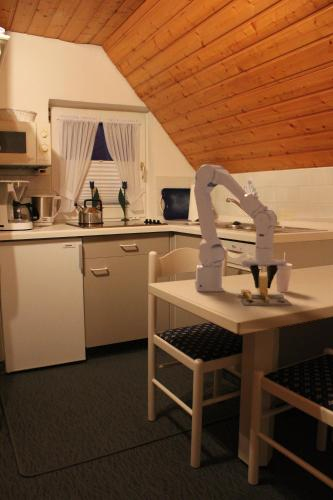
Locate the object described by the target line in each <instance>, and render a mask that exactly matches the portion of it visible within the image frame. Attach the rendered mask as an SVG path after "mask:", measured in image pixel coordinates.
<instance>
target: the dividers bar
mask: <svg viewBox="0 0 333 500" xmlns="http://www.w3.org/2000/svg"><path fill="white" fill-rule="evenodd" d="M268 296H269V299H285V295H284V294H283V293H268ZM237 298H238V299H249V301H252V299H266V298H265V297H264V296H263V295H259V294H258V293H257V292H256V293H254V292H253V293H252V291H251V290H250V289H240V293H239V292H238V293H237Z"/></svg>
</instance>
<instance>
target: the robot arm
mask: <svg viewBox="0 0 333 500" xmlns="http://www.w3.org/2000/svg"><path fill="white" fill-rule="evenodd" d="M195 177H196V180H195V184H194V188H193V192H194V193H193V194H194V198H195V199H194V200H195V205H196V211H197V216H198V223H199V228H200V234H201V241H200V242H199V245H198V247H199V249H198V251H199V252H198V260H199V262H200V263H201V264H197V265H196V266H195V281H194V283H195V284H194V287H195V289H196V291H197V292H225V289H224V287H223V284H222V283H223V261H225V258H226V256H227V251H226V249H225V248H224V246H223V242H222V240H221V239H220V238H219V237H218V233H217V227H216V222H215V216H214V209H213V203H212V197H211V193H212V191H213V190H214V189H215V187H217V186H219V185H220V186H223V187H224V188H226V189H227V190H228V191H229V192H230V193H231V194H232V195H233V196H234V197H235V198H236V199H237V200H238V201H239V206H240V208H241V209H242V210H243V211H244V212H245V213H246V214H247V215H248V216H249V217H250V218H251V219H252V221H253V222H252V223H253V225H254V226H255V251H254V255H255V256H254V259H241V260H240V262H241V263H240V266H241V267H242V268H243V267H244V268H245V267H249V269H250V272H251V275H252V279H253V281H254V287H255V289H257V288H259V276H260V270H261V269H260V267H266V276H267V277H268V287H267V289H268V290H269V289H271V285H272V282H273V280H274V277H276V272H277V271H278V268H277V266H282V267H286V263H287V261H286V259H285V260H284V259H273V258H274V256H273V255H274V241H275V240H274V239H275V238H274V237H275V226H276V225H277V222H278V216H277V214H276V212H275V211H274V210H273V209H269V207H268V206H267V205H264V204H263V203H262V202H261V201H260V200H259V196H258V195H257V194H254V193H247V192H246V191H245V189H244V188H243V187H242V186H241V185H240V184H239V183H238V182H237V180H236V179H235V178H234V177H233V176H232V175H231V173H230V172H229V170H227V169H225V167H223V166H222V165H219V164H216V165H215V164H209V163H205V164H204V163H203V164H201V165H200V167H199V168H198V169H197V170H196V172H195Z"/></svg>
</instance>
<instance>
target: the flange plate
mask: <svg viewBox="0 0 333 500" xmlns="http://www.w3.org/2000/svg"><path fill="white" fill-rule="evenodd" d="M240 302H241V304H242V305H243V307H244V306H245V307H251V306H252V307H253V306H254V307H259V306H260V307H261V306H262V307H263V306H264V307H266V306H267V307H270V306H271V307H272V306H273V307H274V306H275V307H279V306H280V307H282V306H283V307H292V306H293V303H291V301H290V300H288V299H287V298H286V299H285V298H284V299H269V301H266V299H252V301H249V299H242V298H240Z"/></svg>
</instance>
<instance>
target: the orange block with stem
mask: <svg viewBox="0 0 333 500" xmlns="http://www.w3.org/2000/svg"><path fill="white" fill-rule="evenodd" d="M267 287H268V277H267V275H259V288H256V293H258V294H259V295H263V296H264V297H265V298H266V301H269V296H268V294H269V291H268V290H269V289H268V288H267Z"/></svg>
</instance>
